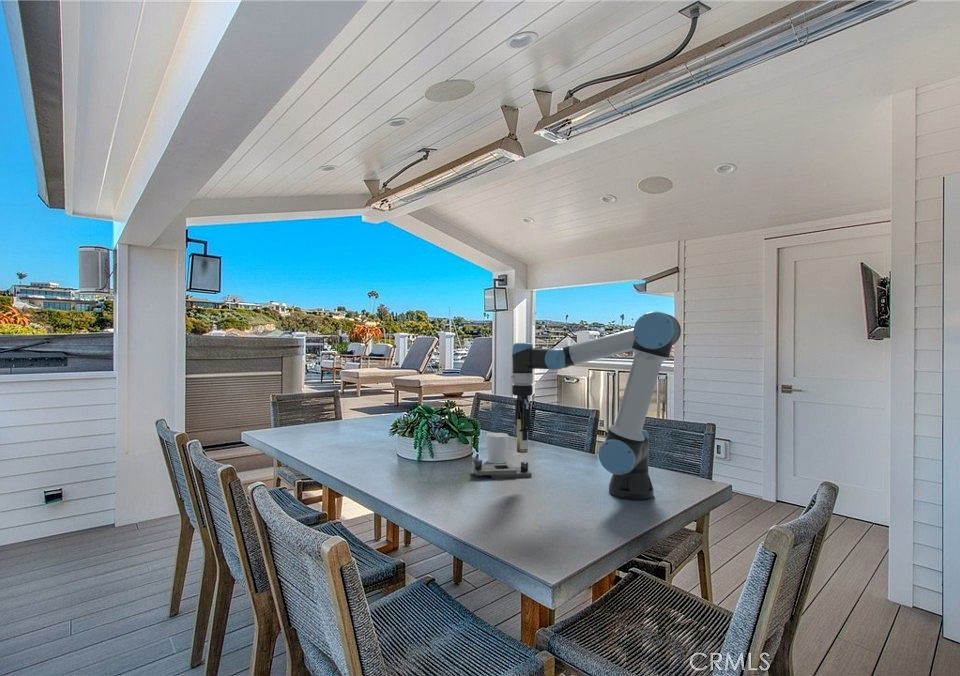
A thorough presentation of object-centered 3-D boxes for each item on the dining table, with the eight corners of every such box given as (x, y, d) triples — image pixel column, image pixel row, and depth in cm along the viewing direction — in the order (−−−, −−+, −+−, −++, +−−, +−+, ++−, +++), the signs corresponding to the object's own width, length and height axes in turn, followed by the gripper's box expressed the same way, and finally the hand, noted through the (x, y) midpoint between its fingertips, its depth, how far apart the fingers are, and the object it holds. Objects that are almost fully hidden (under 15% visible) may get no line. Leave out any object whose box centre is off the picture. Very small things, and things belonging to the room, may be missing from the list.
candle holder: (508, 464, 208) (509, 437, 209) (486, 464, 209) (486, 436, 209) (507, 459, 218) (508, 432, 218) (486, 458, 218) (486, 432, 219)
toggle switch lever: (525, 450, 181) (526, 418, 181) (529, 452, 177) (529, 420, 177) (515, 450, 180) (515, 418, 180) (518, 453, 176) (518, 420, 176)
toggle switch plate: (524, 470, 199) (524, 455, 199) (531, 477, 189) (531, 461, 189) (472, 472, 195) (472, 457, 195) (476, 479, 185) (476, 463, 185)
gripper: (507, 382, 186) (506, 443, 186) (518, 386, 170) (518, 452, 169) (525, 382, 188) (525, 442, 187) (539, 386, 171) (539, 452, 171)
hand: (522, 447), depth 178 cm, fingers closed on toggle switch lever, 4 cm apart
